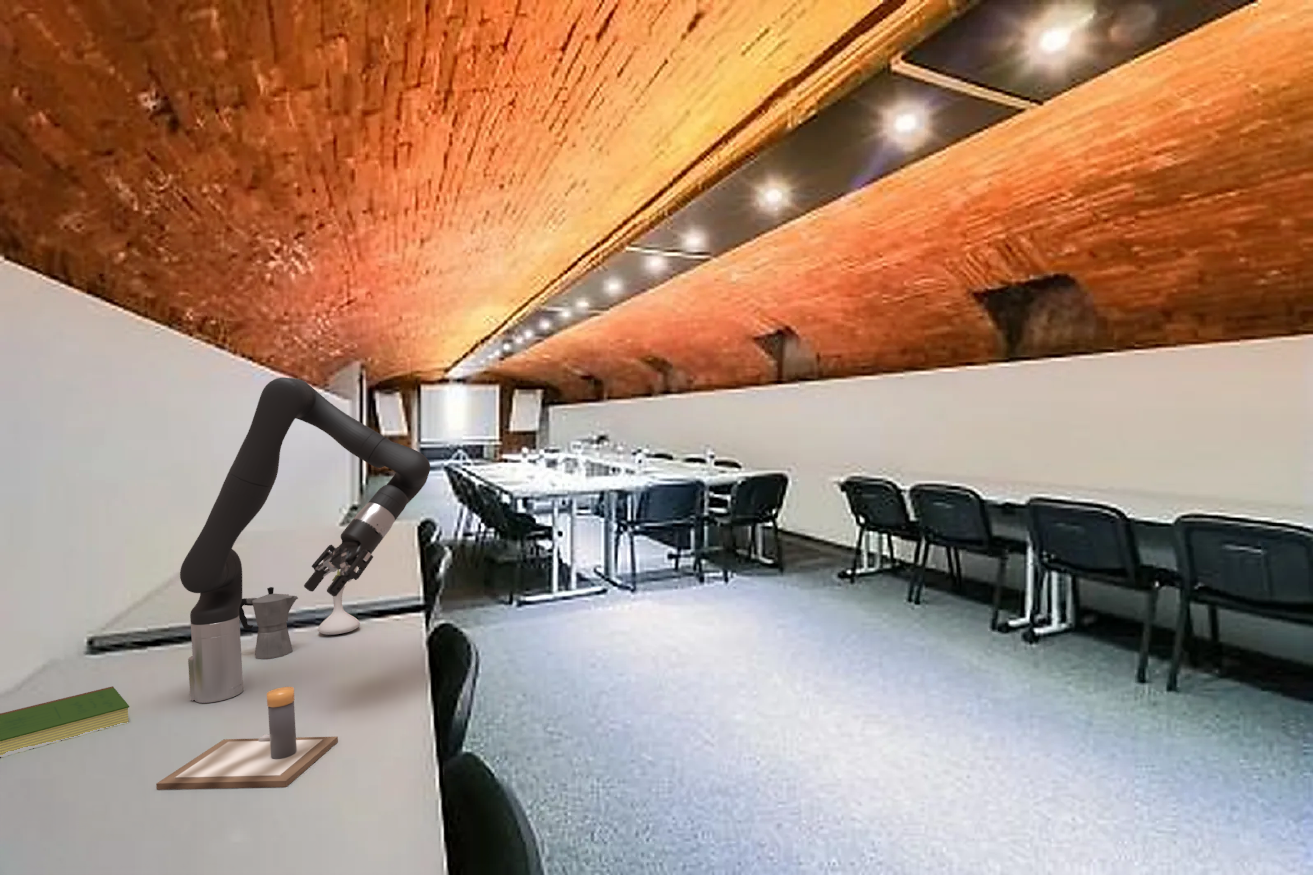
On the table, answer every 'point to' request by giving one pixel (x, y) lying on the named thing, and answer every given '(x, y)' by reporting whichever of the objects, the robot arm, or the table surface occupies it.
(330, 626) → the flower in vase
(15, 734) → the hardcover book
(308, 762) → the clipboard
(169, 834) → the table surface
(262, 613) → the coffeepot
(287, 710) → the orange and grey cylinder
